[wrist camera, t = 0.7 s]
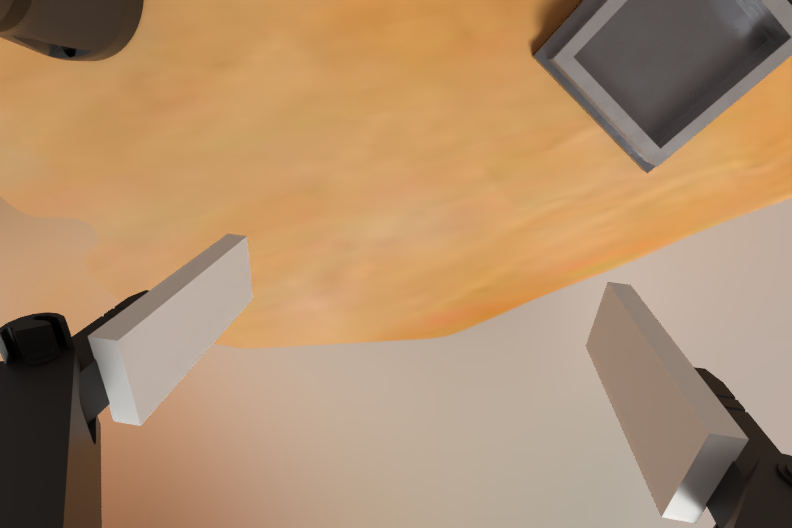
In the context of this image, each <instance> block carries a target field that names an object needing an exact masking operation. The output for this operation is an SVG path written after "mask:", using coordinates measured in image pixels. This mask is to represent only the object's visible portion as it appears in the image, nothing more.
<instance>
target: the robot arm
mask: <svg viewBox="0 0 792 528" xmlns="http://www.w3.org/2000/svg"><path fill="white" fill-rule="evenodd" d="M142 8H143V0H0V37H1V38H4V39H6V40H9V41H11V42H14V43H16V44H19V45H21V46H24V47H26V48H29V49H31V50H34V51H36V52H39V53H41V54H44V55H47V56H50V57H53V58H57V59H62V60H69V61H98V60H103V59H106V58H109V57H111V56H113V55H115V54H116V53H118V52H119V51H121V50H122V49H123V48H124V47H125V46H126V45H127V44H128V42H129V41H130V40H131V38H132V37H133V35H134V33H135V31H136V29H137V27H138V24H139V21H140V18H141V14H142ZM252 299H253V296H252V285H251V274H250V263H249V252H248V240H247V236H241V235H234V234H227V235H225V236H224V237H223V238H221V239H220V240H219V241H217V242H216V243H214V244H213V245H212V246H210V247H209V248H208V249H206V250H205V251H204V252H202V253H201V254H199V255H198V256H197V257H195V258H194V259H193V260H191V261H190V262H188V263H187V264H186V265H184V266H183V267H182V268H180V269H179V270H178V271H176V272H175V273H173V274H172V275H171V276H169V277H168V278H167V279H165V280H164V281H162V282H161V283H160V284H158V285H157V286H156V287H154V288H153V289H152V290H150V291H148V290H145V291H143V292H140V293H138V294H135V295H133V296H130V297H128V298H127V299H125V300H124V301H122V302H121V303H120V304H118V305H117V306H115V309H111V310H110V311H108V312H107V313H105V314H104V316H103V317H102V316H101V317H100V318H98V319H97V320H95V321H94V322H93V323H91V324H90V325H88V326H87V327H85V328H84V329H83V330H81V331H80V332H78V333H77V334H76V335H74V336H73V337H71V334H70V331H69V328H68V325H67V322H66V320H65V317H64V316H62V315H60V314H58V313H39V314H32V315H28V316H24V317H20V318H18V319H16V320H13V321H11V322H8V323H7V324H5V325H4V326H2V327H1V328H0V353H1V355H2V358H3V360H4V361H0V528H102V527H101V526H102V520H101V441H100V440H101V439H100V438H101V434H100V433H101V432H100V429H101V428H100V422H99V419H98V416H97V415H98V414H99V413H100V412H101V411H102V410H103V409H104V408H106V407H107V406H108V405H109V407H110V410H111V414H112V417H113V420H114V421H116V422H122V423H127V424H133V425H139V426H141V425H142V424H143V423H144V422H145V420H146V419H147V418H148V417H149V416H150V415H151V414H152V412H153V411H154V410H155V409H156V408H157V407H158V406H159V405H160V403H161V402H162V401H163V400H164V399H165V398H166V397H167V395H168V394H169V393H170V392H171V391H172V390H173V389H174V388H175V386H176V385H177V384H178V383H179V382H180V381H181V380H182V378H183V377H184V376H185V375H186V374H187V373H188V372H189V371H190V370H191V368H192V367H193V366H194V365H195V364H196V363H197V362H198V360H199V359H200V358H201V357H202V356H203V355H204V353H206V351H207V350H208V349H209V348H210V347H211V346H212V345H213V343H214V342H215V341H216V340H217V339H218V338H219V337H220V336H221V334H222V333H223V332H224V331H225V330H226V329H227V328H228V326H229V325H230V324H231V323H232V322H233V321H234V320H235V319H236V317H237V316H238V315H239V314H240V313H241V312H242V311H243V310H244V308H245V307H246V306H247V305H248V304H249V303H250V302H251V300H252ZM586 348H587V350H588V352H589V354H590V357H591V359H592V361H593V364H594V366H595V368H596V370H597V372H598V375H599V377H600V379H601V382H602V384H603V386H604V388H605V391H606V393H607V395H608V397H609V400H610V402H611V404H612V406H613V409H614V411H615V413H616V415H617V418H618V420H619V422H620V424H621V427H622V429H623V431H624V434H625V436H626V438H627V440H628V443H629V445H630V447H631V449H632V452H633V454H634V456H635V458H636V461H637V463H638V465H639V467H640V470H641V472H642V474H643V476H644V479H645V481H646V483H647V486H648V488H649V490H650V492H651V495H652V497H653V499H654V501H655V503H656V506H657V508H658V510H659V513H660V515H661V517H663V518H669V519H674V520H680V521H686V522H692V523H696V522H697V521H698V519H699V518H700V516H701V514H702V513H703V511H704V510H705V508H706V507H708V509H709V511H710V513H711V514H712V516H713V518H714V520H715V522H716V524H715V526H714V527H713V528H792V456H790V455H786V454H782V453H781V452H780V451H779V450H778V449H777V448H776V446H775V445H774V444H773V443H772V441H771V440H770V439H769V438H768V437H767V435H766V434H765V433H764V432H763V431H762V429H761V428H760V427H759V426H758V424H757V423H756V422H755V421H754V420H753V418H752V417H751V416H750V415H749V414H748V413H747V412H745V409H744V407H743V406H742V405H741V404H740V403H739V401H738V400H735V397H734V395H733V394H732V393H731V392H730V390H729V389H728V388H727V387H726V386H725V384H724V383H723V382H722V381H720V380H719V379H718V378H716V377H715V376H714V375H712V374H711V373H710V372H708V371H707V370H706V369H702V368H695V367H693V366H692V365H691V363H690V362H689V361H688V359H687V358H686V357H685V355H684V354H683V353H682V351H681V350H680V349H679V348H678V346H677V345H676V344H675V342H674V341H673V340H672V338H671V337H670V336H669V334H668V333H667V332H666V331H665V329H664V328H663V327H662V325H661V324H660V323H659V322H658V320H657V319H656V318H655V316H654V315H653V314H652V312H651V311H650V310H649V308H648V307H647V306H646V304H645V303H644V302H643V301H642V300H641V298H640V297H639V295H638V294H637V293H636V292H635V290H634V289H633V288H632V286H631V285H627V284H619V283H611V282H608V283H607V286H606V288H605V291H604V294H603V297H602V300H601V303H600V306H599V309H598V312H597V315H596V318H595V321H594V324H593V327H592V329H591V332H590V335H589V338H588V341H587V344H586Z"/></svg>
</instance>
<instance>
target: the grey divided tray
mask: <svg viewBox="0 0 792 528" xmlns="http://www.w3.org/2000/svg"><path fill="white" fill-rule="evenodd" d="M791 55H792V0H583V1H582V2H581V3H580V4H579V5H578V6H577V7H576V8H575V10H574V11H573V12H572V13H571V14H570V15H569V16H568V17H567V18H566V20H565V21H564V22H563V23H562V24H561V25H560V26H559V27H558V28H557V29H556V31H555V32H554V33H553V34H552V35H551V36H550V37H549V38H548V39H547V41H546V42H545V43H544V44H543V45H542V46H541V47H540V48H539V49H538V50H537V52H536V53H535V54H534V55H533V56H532V57H533V58H534V59H535V60H536V61H537V62H538V63H539V64H540V65H541V66H542V67H543V68H544V69H545V70H546V71H547V72H548V73H549V74H550V75H551V76H552V77H553V78H554V79H555V80H556V81H557V82H558V83H559V85H560V86H561V87H562V88H563V89H564V90H565V91H566V92H567V93H568V94H569V95H570V96H571V97H572V98H573V99H574V100H575V101H576V102H577V103H578V104H579V105H580V106H581V107H582V108H583V109H584V110H585V111H586V112H587V113H588V114H589V115H590V116H591V117H592V118H593V120H594V121H595V122H596V123H597V124H598V125H599V126H600V127H601V128H602V129H603V130H604V131H605V132H606V133H607V134H608V135H609V136H610V137H611V138H612V139H613V140H614V141H615V142H616V143H617V144H618V145H619V146H620V147H621V148H622V149H623V150H624V151H625V152H626V154H627V155H628V156H629V157H630V158H631V159H632V160H633V161H634V162H635V163H636V164H637V165H638V166H639V167H640V168H641V169H642V170H643V171H645V172H646V173H648V172H649V171H651V170H652V169H653V168H654V167H655V166H656V167H658V166H659V165H660V164H661V163H663V162H664V161H665V160H666V159H667V158H669V157H670V156H671V155H672V154H673V153H675V152H676V151H677V150H678V149H679V148H681V147H682V146H683V145H684V144H685V143H687V142H688V141H689V140H690V139H691V138H693V137H694V136H695V135H696V134H697V133H699V132H700V131H701V130H702V129H703V128H705V127H706V126H707V125H708V124H709V123H711V122H712V121H713V120H714V119H715V118H717V117H718V116H719V115H720V114H721V113H723V112H724V111H725V110H726V109H727V108H729V107H730V106H731V105H732V104H733V103H735V102H736V101H737V100H738V99H740V98H741V97H742V96H743V95H744V94H746V93H747V92H748V91H749V90H750V89H752V88H753V87H754V86H755V85H756V84H758V83H759V82H760V81H761V80H762V79H764V78H765V77H766V76H767V75H768V74H770V73H771V72H772V71H773V70H774V69H776V68H777V67H778V66H779V65H780V64H782V63H783V62H784V61H785V60H786V59H788V58H789V57H790V56H791Z"/></svg>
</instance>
